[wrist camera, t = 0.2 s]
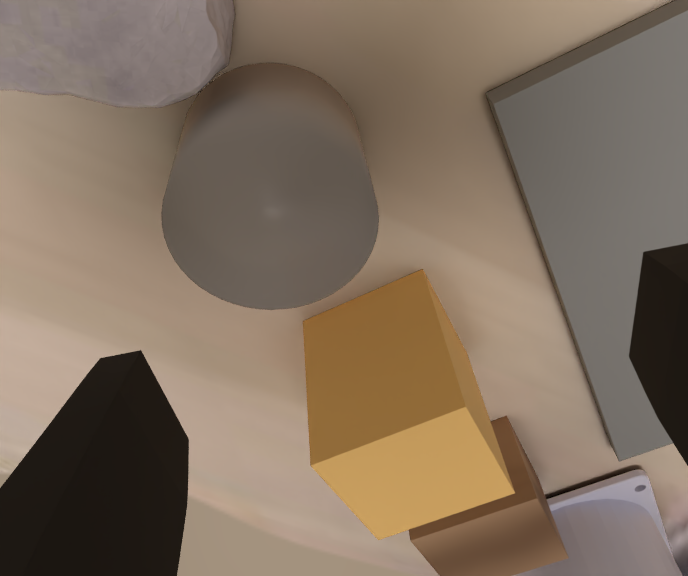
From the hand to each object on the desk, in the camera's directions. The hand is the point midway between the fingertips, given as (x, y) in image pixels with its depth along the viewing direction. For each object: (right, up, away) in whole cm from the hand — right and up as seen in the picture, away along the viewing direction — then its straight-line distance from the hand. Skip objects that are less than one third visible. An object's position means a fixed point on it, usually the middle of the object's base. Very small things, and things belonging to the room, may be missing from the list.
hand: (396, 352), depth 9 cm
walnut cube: (+5, -7, +19) cm, 20 cm away
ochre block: (+1, -1, +13) cm, 13 cm away
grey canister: (-3, +5, +9) cm, 10 cm away
